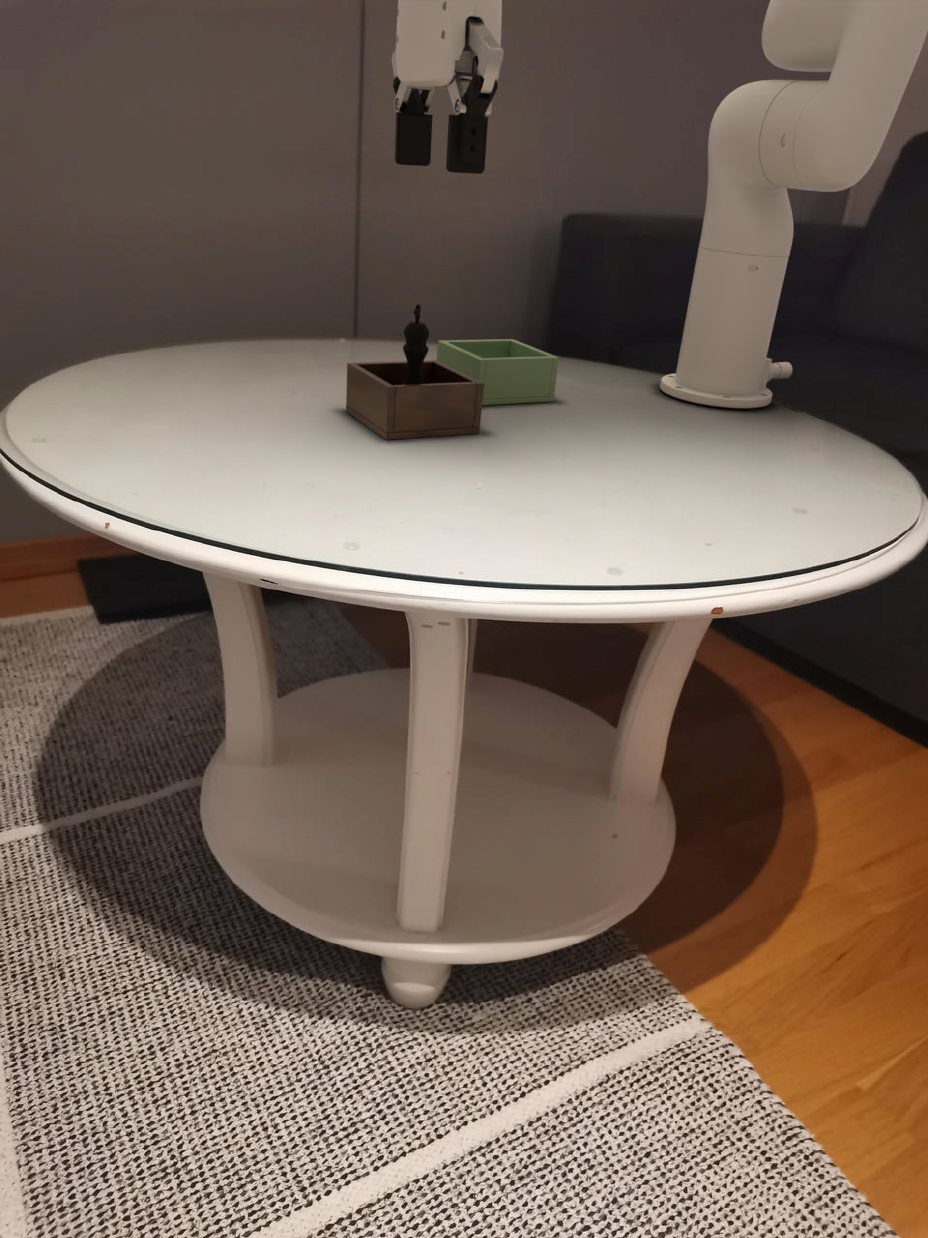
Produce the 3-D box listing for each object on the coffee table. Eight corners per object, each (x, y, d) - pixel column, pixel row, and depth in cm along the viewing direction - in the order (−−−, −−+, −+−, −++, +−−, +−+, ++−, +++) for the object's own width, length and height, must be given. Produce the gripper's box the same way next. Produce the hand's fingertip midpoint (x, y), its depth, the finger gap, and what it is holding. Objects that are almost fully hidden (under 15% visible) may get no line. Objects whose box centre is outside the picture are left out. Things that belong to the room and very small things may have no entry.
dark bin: (434, 406, 94) (437, 359, 92) (479, 433, 86) (484, 383, 84) (345, 411, 89) (346, 362, 87) (385, 439, 82) (388, 387, 80)
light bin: (508, 380, 107) (512, 338, 105) (553, 401, 100) (559, 357, 98) (434, 383, 103) (437, 340, 100) (476, 405, 95) (480, 359, 93)
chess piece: (384, 419, 86) (389, 305, 81) (392, 407, 90) (397, 298, 85) (432, 424, 85) (439, 310, 81) (438, 412, 89) (446, 303, 85)
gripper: (553, -92, 66) (529, 178, 74) (442, -62, 79) (432, 164, 87) (458, -111, 62) (444, 174, 70) (358, -76, 76) (356, 160, 84)
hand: (437, 168), depth 79 cm, fingers open, 9 cm apart
